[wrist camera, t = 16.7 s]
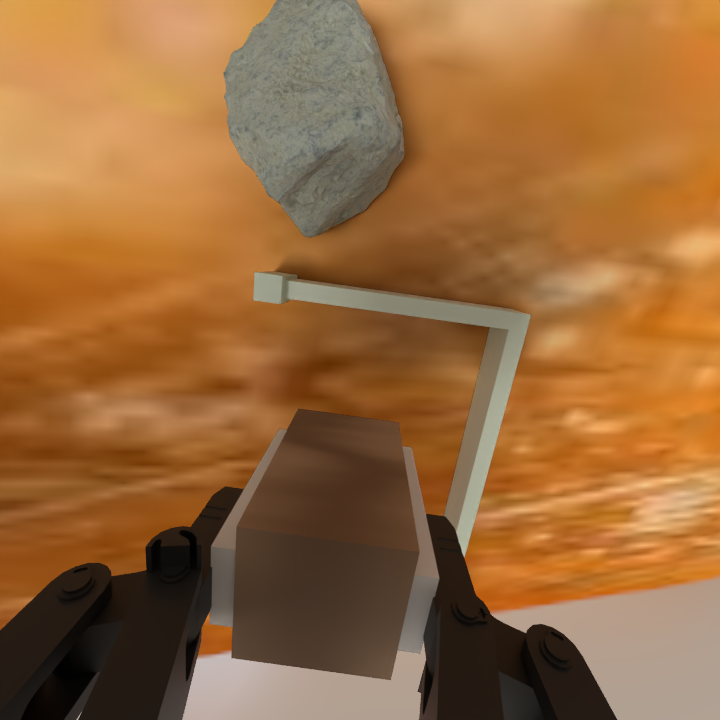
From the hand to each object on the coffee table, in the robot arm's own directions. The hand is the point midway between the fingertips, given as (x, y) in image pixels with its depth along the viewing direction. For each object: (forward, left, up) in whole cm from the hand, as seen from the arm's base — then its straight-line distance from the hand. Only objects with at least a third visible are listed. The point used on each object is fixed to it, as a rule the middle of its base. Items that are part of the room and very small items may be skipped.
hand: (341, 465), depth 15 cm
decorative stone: (-4, +17, -13) cm, 22 cm away
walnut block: (0, 0, 0) cm, 0 cm away
